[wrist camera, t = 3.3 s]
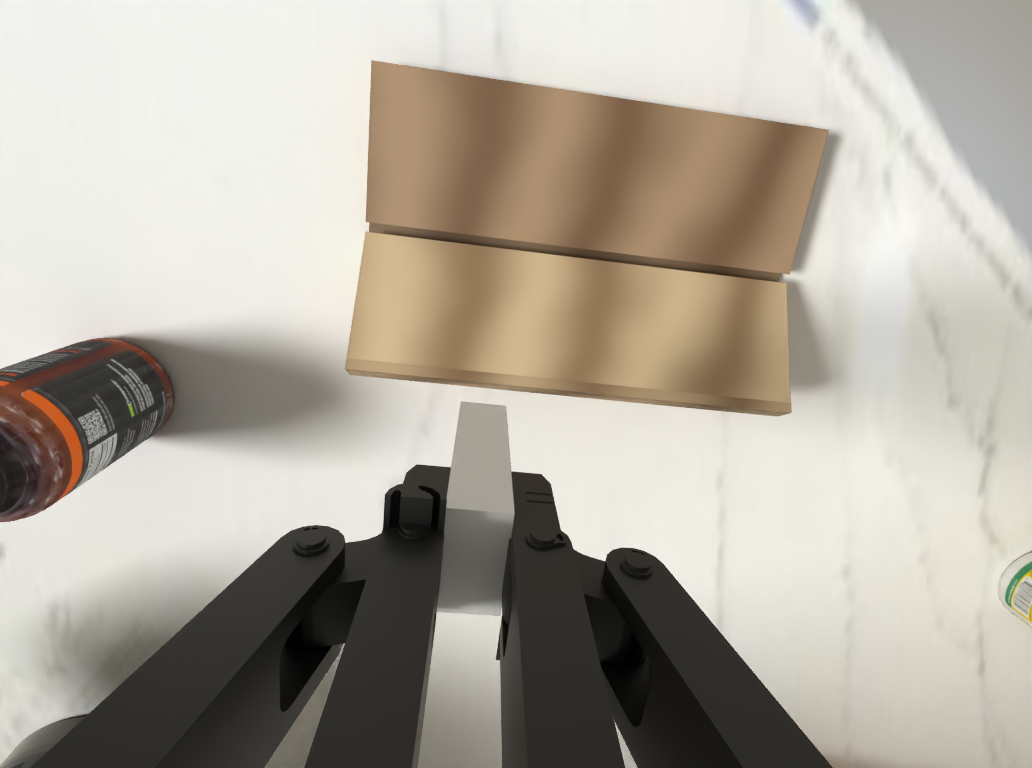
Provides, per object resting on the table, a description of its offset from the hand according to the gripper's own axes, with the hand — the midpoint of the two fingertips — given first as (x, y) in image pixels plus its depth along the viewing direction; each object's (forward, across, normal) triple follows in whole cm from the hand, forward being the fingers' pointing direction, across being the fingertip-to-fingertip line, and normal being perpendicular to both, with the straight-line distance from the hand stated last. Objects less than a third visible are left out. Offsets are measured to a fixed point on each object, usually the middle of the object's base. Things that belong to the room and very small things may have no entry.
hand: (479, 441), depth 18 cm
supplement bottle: (+12, -19, -4) cm, 23 cm away
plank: (+11, +5, +2) cm, 12 cm away
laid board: (+12, +5, +9) cm, 16 cm away
